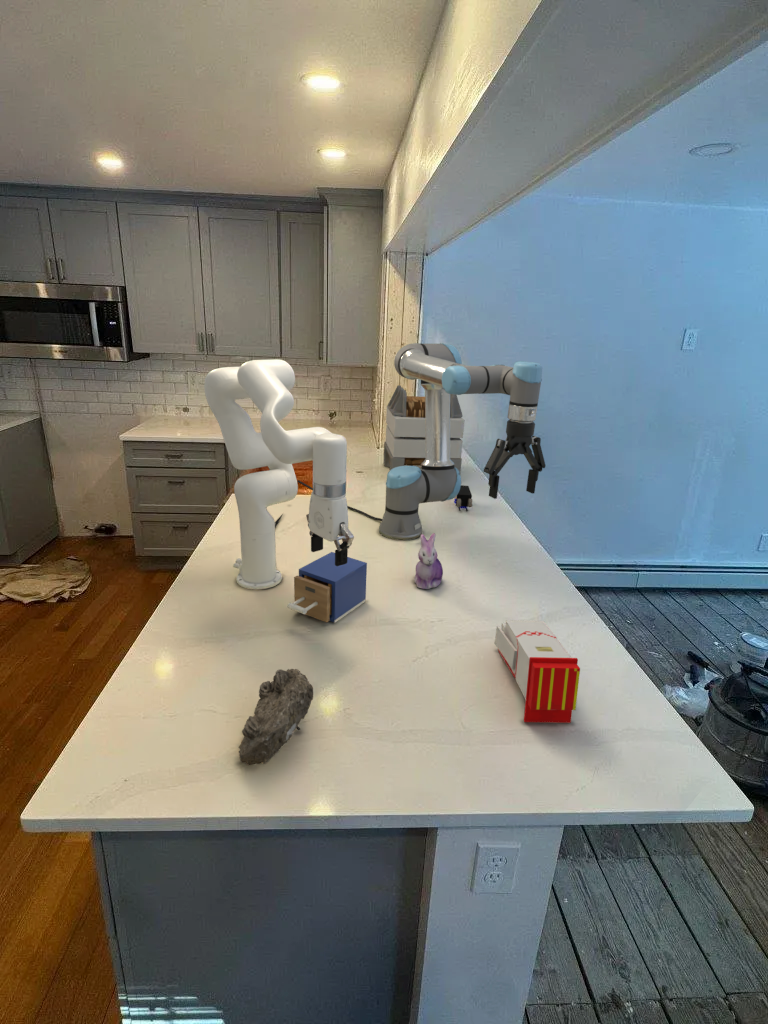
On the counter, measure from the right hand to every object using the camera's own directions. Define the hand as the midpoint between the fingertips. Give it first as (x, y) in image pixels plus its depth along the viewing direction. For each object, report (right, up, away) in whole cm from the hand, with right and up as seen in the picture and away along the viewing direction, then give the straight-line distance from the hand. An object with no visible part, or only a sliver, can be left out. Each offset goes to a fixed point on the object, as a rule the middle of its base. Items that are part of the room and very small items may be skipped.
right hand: (511, 494), depth 162 cm
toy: (-5, -42, -38) cm, 57 cm away
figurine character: (-5, -3, +68) cm, 69 cm away
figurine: (-24, -26, +3) cm, 35 cm away
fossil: (-56, -45, -56) cm, 91 cm away
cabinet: (-50, -30, -11) cm, 59 cm away
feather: (-74, -7, +48) cm, 89 cm away
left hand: (-50, -16, -27) cm, 59 cm away
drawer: (-53, -30, -16) cm, 63 cm away
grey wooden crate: (-19, +14, +113) cm, 116 cm away
